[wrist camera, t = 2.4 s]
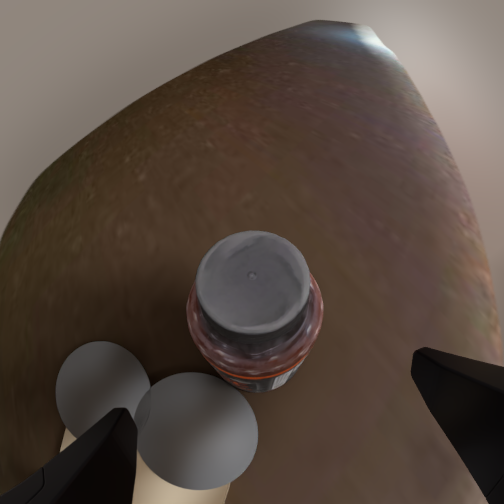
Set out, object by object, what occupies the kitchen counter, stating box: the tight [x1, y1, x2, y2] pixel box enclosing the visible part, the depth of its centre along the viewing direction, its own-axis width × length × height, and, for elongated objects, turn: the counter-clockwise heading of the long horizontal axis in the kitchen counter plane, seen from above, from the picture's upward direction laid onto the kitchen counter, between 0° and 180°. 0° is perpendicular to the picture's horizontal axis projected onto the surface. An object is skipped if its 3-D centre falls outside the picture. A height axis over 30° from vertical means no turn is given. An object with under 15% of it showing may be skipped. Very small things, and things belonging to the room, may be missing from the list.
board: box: [56, 341, 258, 504], centre depth 11 cm, size 15×20×7 cm
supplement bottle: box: [186, 231, 323, 393], centre depth 15 cm, size 6×6×11 cm
